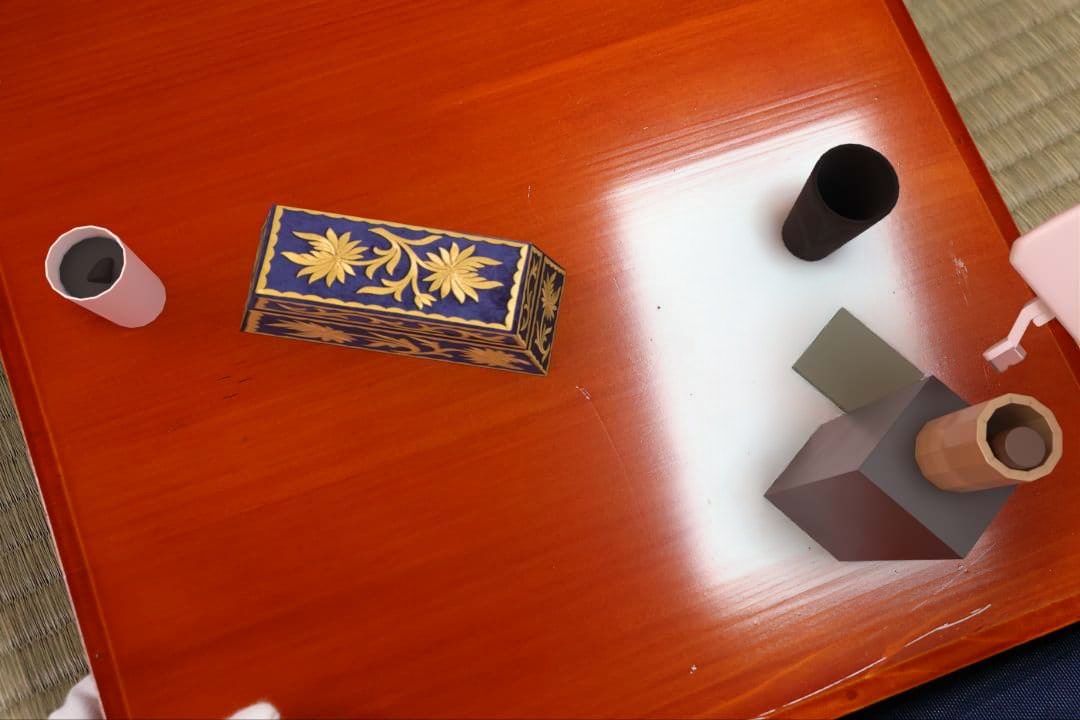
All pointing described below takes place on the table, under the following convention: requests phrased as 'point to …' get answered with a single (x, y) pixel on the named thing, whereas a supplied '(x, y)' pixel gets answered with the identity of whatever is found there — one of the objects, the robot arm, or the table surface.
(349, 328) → the decorative box
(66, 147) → the table surface
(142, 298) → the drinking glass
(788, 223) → the cup
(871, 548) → the peg stand
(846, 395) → the felt coaster
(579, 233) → the table surface
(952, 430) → the orange hollow cylinder
